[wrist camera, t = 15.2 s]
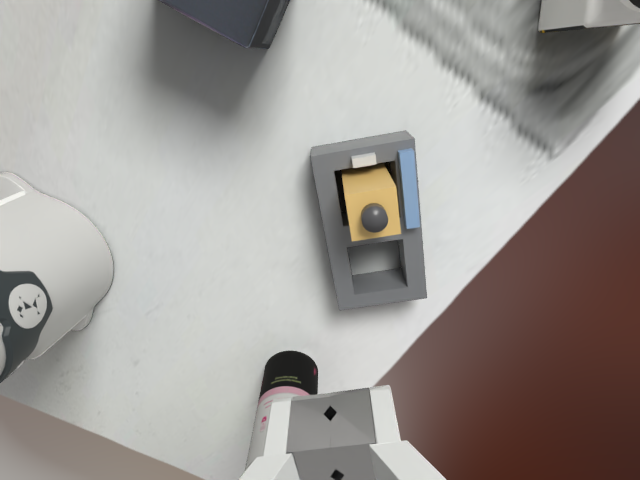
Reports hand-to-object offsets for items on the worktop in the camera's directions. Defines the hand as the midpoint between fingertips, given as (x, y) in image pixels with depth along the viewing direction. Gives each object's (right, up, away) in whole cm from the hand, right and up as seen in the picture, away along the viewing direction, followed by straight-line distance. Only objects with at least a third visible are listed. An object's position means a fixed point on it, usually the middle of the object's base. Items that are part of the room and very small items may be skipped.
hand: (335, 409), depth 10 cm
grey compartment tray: (+5, +7, +31) cm, 32 cm away
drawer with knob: (+4, +10, +30) cm, 32 cm away
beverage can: (-4, -12, +40) cm, 42 cm away
